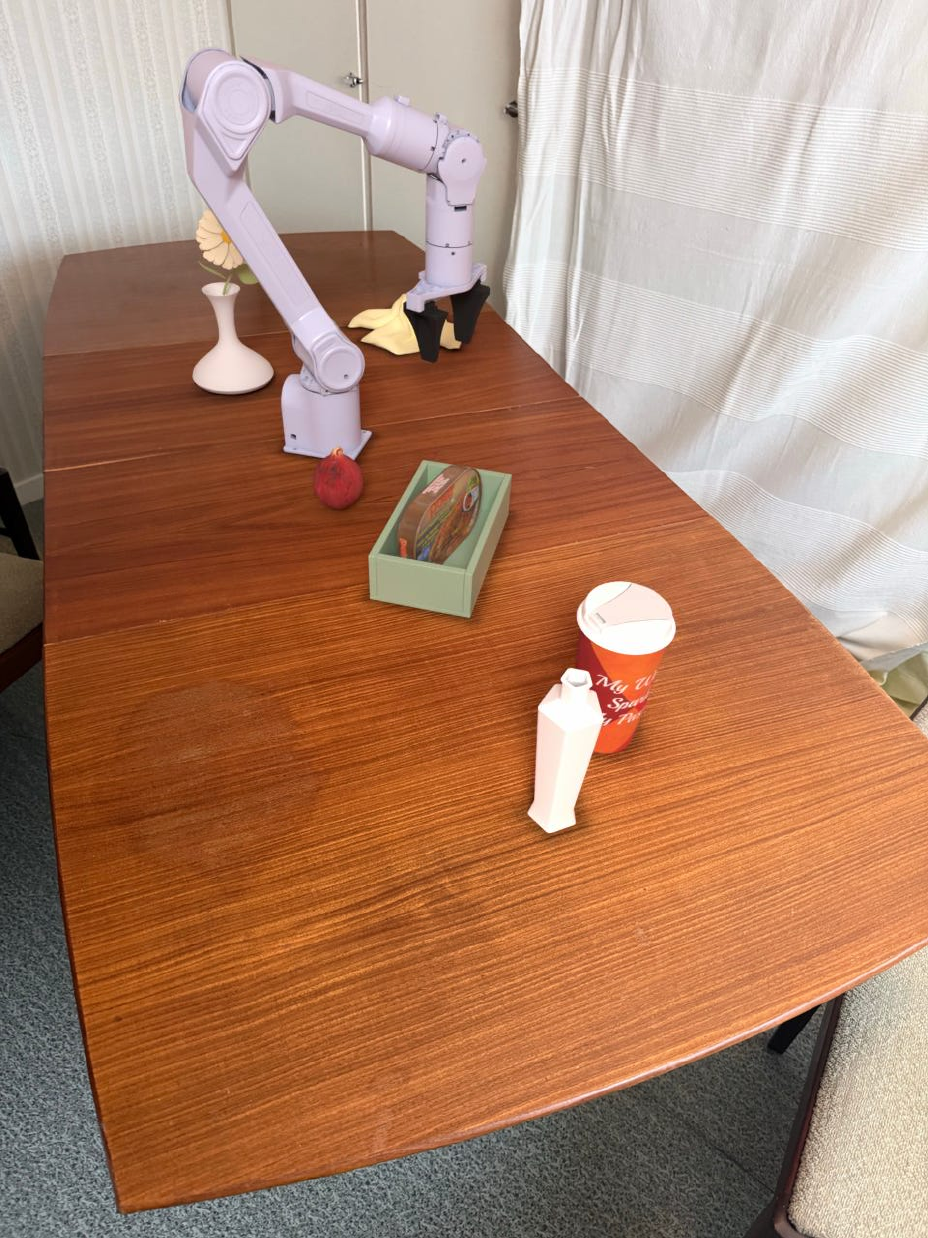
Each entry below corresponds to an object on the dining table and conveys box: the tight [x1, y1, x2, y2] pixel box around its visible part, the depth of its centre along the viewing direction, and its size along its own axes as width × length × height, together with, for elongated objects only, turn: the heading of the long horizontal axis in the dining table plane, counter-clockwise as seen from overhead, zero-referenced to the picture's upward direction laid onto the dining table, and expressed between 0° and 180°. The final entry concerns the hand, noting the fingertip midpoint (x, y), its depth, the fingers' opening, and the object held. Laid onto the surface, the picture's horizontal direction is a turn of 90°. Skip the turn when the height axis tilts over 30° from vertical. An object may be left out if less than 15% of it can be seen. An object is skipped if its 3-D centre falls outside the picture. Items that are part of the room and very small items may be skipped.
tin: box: [397, 464, 482, 565], centre depth 89 cm, size 15×3×8 cm, turn 152°
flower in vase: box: [191, 209, 275, 395], centre depth 113 cm, size 13×11×25 cm
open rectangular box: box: [367, 459, 513, 619], centre depth 90 cm, size 11×20×6 cm, turn 166°
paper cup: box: [574, 581, 677, 754], centre depth 69 cm, size 8×8×14 cm
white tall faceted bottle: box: [526, 667, 603, 834], centre depth 61 cm, size 5×4×15 cm
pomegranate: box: [312, 446, 365, 511], centre depth 95 cm, size 6×6×8 cm
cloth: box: [347, 293, 463, 356], centre depth 137 cm, size 22×19×6 cm
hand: (446, 350), depth 108 cm, fingers open, 7 cm apart
